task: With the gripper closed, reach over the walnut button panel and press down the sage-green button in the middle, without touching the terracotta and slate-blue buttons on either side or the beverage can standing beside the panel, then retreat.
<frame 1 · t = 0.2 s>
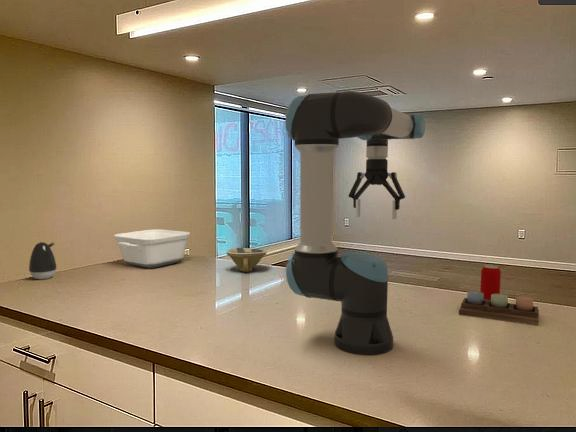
hand: (375, 218, 167), 28 cm above the counter, fingers open, 13 cm apart
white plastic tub: (153, 264, 224), on the counter
beverage can: (489, 300, 161), on the counter
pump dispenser: (43, 278, 195), on the counter
slate button: (475, 297, 148), point 4 cm above the counter, slide at 0.0 cm
sage button: (499, 300, 145), point 4 cm above the counter, slide at 0.0 cm
terracotta button: (524, 303, 142), point 4 cm above the counter, slide at 0.0 cm
panel: (498, 314, 145), on the counter
bowl: (246, 271, 209), on the counter
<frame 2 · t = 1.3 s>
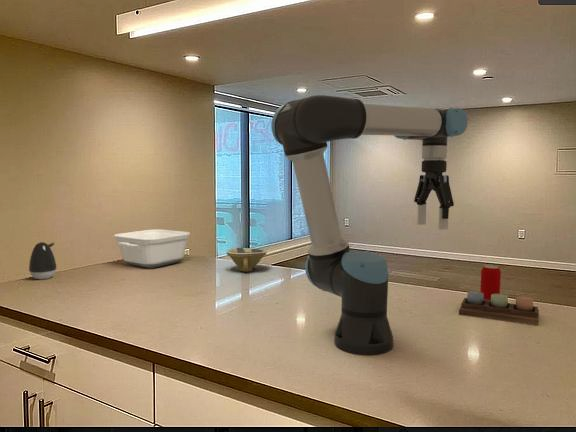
hand: (431, 226, 148), 27 cm above the counter, fingers open, 13 cm apart
nothing on the counter moved.
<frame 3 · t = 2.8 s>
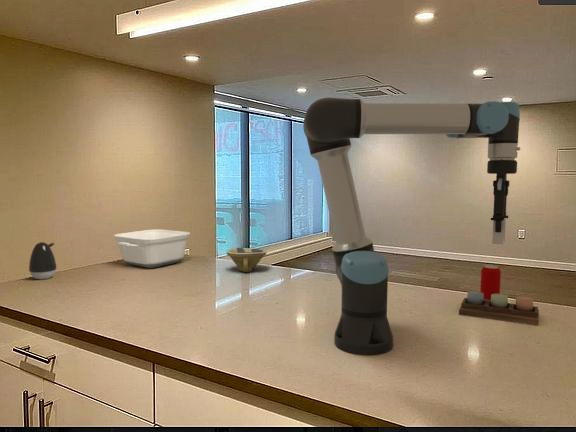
hand: (498, 242, 131), 25 cm above the counter, fingers open, 5 cm apart
nothing on the counter moved.
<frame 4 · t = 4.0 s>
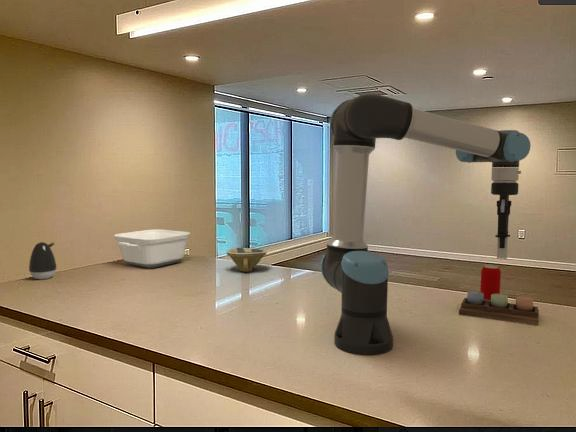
hand: (501, 258, 144), 18 cm above the counter, fingers closed
nothing on the counter moved.
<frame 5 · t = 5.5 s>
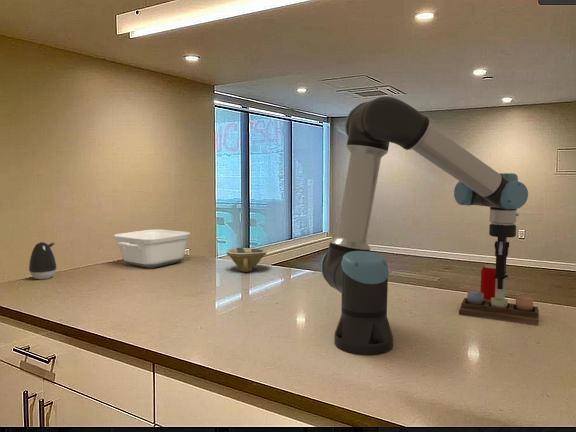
hand: (499, 298, 145), 5 cm above the counter, fingers closed
sage button: (499, 303, 145), point 3 cm above the counter, slide at 1.1 cm, touching gripper
everything else where it was.
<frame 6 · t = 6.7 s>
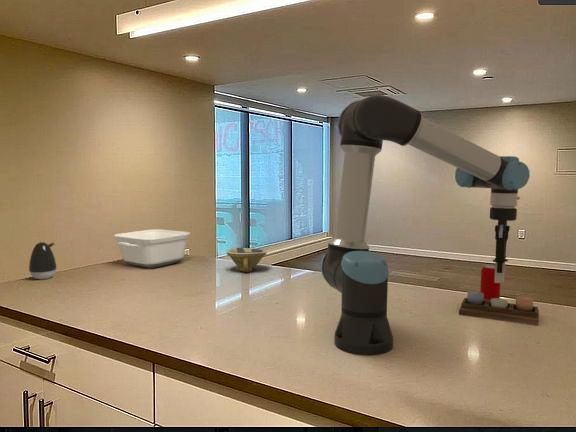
hand: (499, 282, 144), 10 cm above the counter, fingers closed
sage button: (499, 304, 145), point 3 cm above the counter, slide at 1.4 cm
everything else where it was.
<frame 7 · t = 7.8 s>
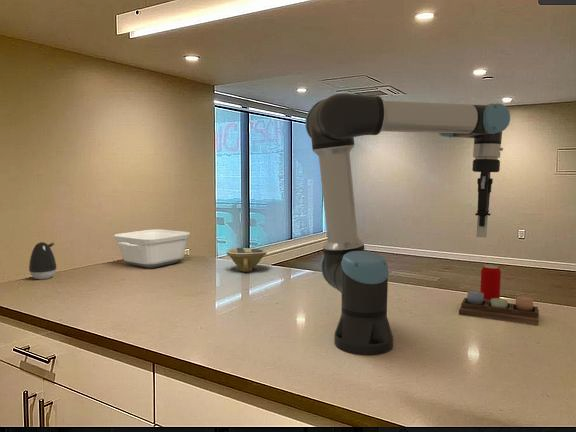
hand: (481, 236, 141), 25 cm above the counter, fingers closed
nothing on the counter moved.
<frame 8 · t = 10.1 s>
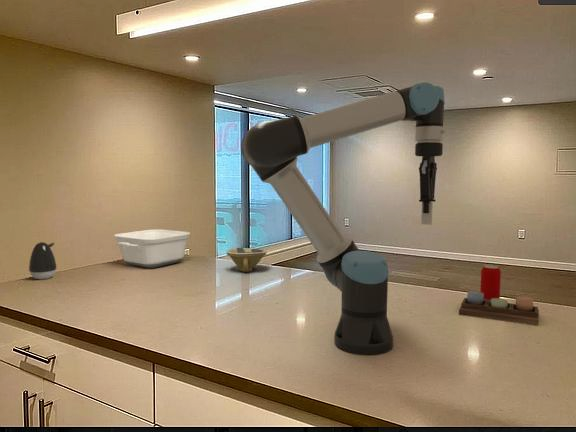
hand: (426, 224, 135), 29 cm above the counter, fingers closed
nothing on the counter moved.
at the end: sage button slide at 1.4 cm; terracotta button slide at 0.0 cm; slate button slide at 0.0 cm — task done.
